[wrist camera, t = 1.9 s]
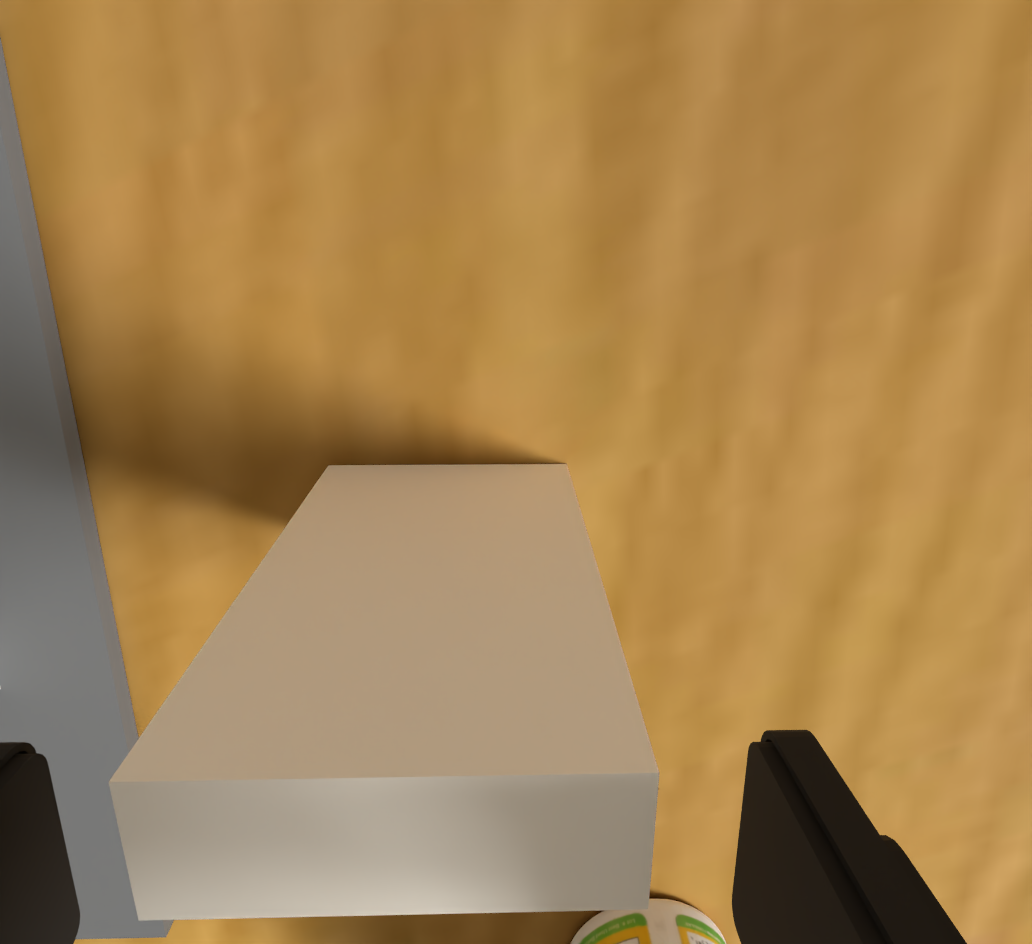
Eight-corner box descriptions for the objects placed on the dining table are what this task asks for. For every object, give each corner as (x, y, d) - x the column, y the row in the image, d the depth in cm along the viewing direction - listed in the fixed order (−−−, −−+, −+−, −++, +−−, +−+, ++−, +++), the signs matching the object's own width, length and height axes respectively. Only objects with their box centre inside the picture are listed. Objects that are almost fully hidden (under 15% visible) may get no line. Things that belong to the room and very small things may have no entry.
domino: (328, 465, 18) (109, 781, 8) (566, 463, 18) (659, 772, 8) (334, 538, 19) (138, 919, 9) (564, 536, 19) (648, 909, 9)
